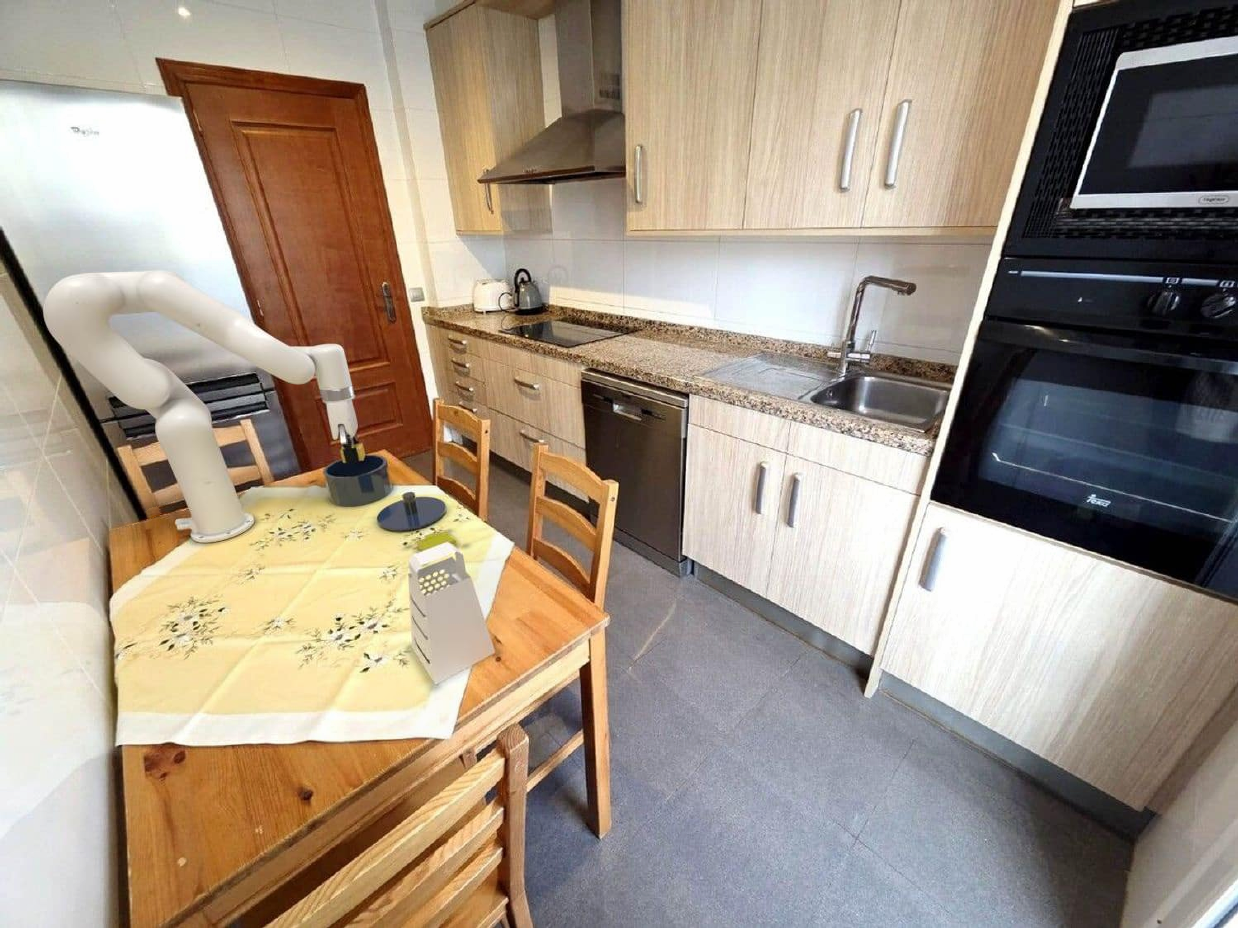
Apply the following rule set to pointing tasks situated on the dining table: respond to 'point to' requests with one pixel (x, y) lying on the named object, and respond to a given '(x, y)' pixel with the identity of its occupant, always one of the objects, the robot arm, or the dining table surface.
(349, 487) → the pot
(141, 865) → the dining table surface
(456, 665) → the grater
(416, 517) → the lid
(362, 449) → the cheese
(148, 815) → the dining table surface
